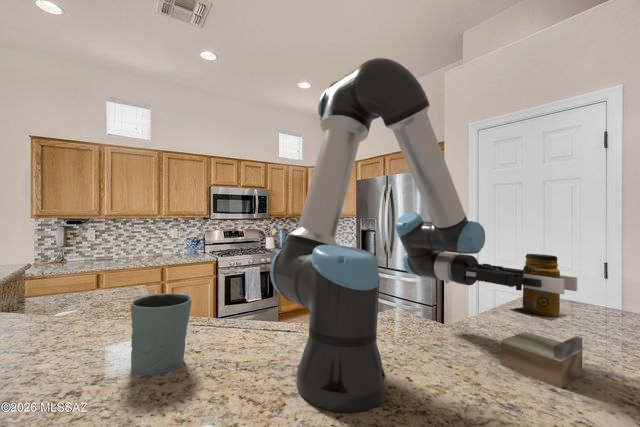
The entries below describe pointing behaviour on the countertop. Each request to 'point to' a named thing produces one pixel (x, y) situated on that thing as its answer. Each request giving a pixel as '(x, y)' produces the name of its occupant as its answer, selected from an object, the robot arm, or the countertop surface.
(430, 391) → the countertop surface
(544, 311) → the condiment
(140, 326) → the grey textured cup
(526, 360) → the stand
